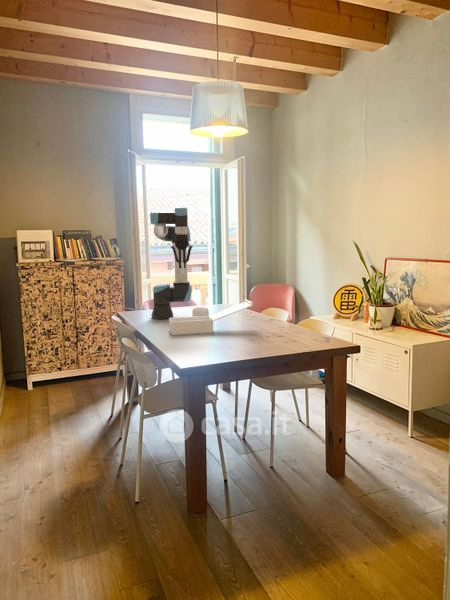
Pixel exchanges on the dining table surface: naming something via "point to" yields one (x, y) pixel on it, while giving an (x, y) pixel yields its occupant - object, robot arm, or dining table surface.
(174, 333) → the box
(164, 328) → the dining table surface
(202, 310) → the photo printer
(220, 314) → the mailer lid
